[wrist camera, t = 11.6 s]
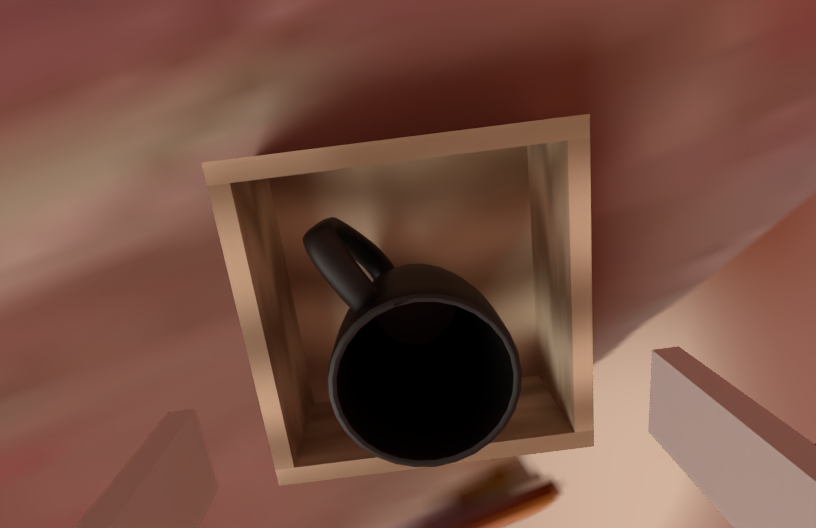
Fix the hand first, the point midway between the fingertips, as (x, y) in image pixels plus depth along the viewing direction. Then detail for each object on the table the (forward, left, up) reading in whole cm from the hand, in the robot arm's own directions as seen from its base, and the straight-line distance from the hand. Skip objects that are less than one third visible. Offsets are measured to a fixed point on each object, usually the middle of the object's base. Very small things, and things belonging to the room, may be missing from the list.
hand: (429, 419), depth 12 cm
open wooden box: (0, 0, -16) cm, 16 cm away
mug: (0, -1, -15) cm, 15 cm away
